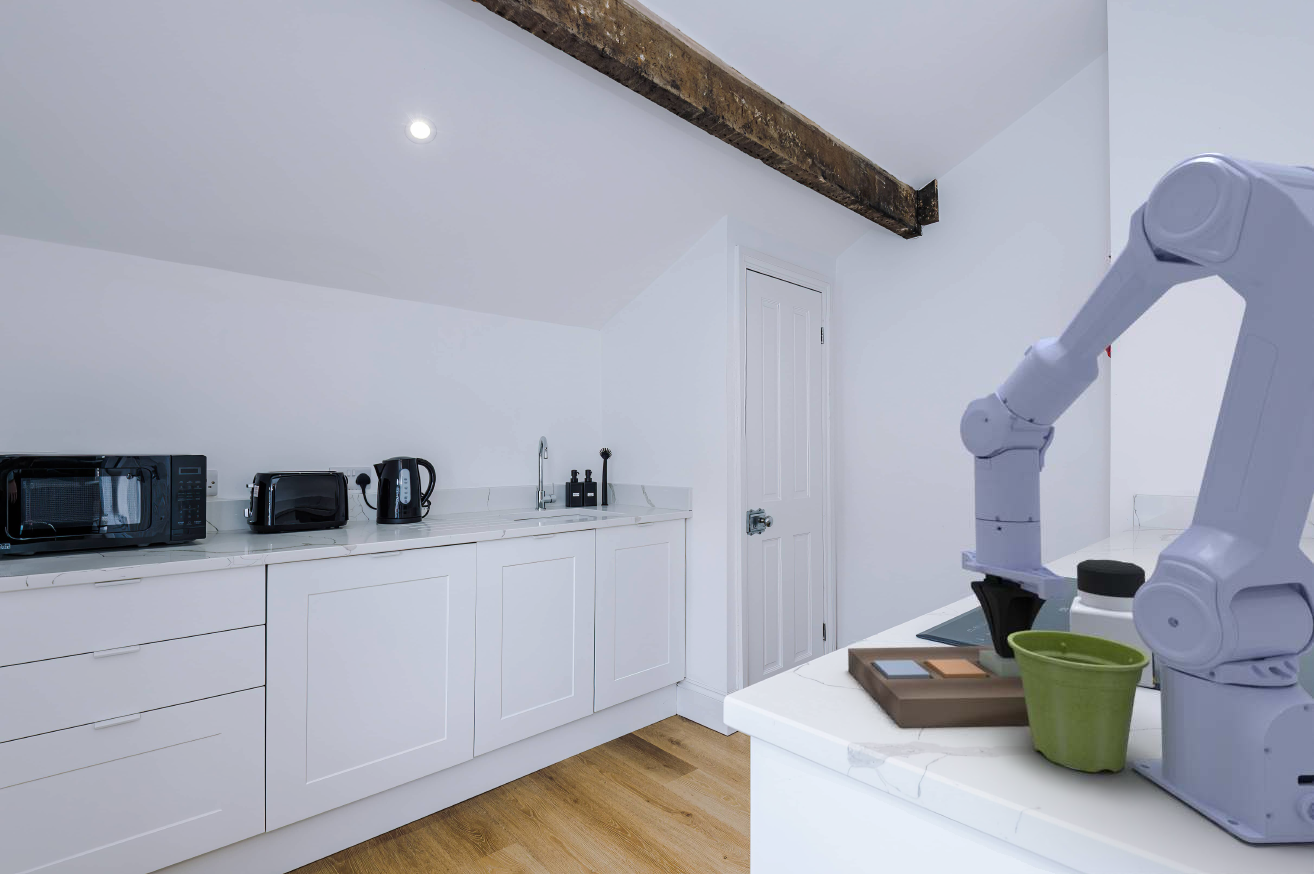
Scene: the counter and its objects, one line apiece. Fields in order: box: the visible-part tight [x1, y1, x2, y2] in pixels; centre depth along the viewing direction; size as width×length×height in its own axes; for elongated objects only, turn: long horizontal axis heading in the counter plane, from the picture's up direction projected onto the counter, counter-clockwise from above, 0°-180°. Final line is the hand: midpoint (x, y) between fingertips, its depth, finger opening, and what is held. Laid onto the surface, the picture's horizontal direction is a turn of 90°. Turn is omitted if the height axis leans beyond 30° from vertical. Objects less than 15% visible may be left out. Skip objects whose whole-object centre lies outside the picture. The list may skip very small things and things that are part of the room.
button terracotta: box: [927, 659, 987, 678], centre depth 62 cm, size 4×4×2 cm
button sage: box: [979, 650, 1021, 677], centre depth 62 cm, size 4×4×2 cm
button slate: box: [874, 660, 930, 679], centre depth 62 cm, size 4×4×2 cm
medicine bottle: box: [1069, 558, 1156, 689], centre depth 68 cm, size 7×7×12 cm
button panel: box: [847, 645, 1030, 729], centre depth 62 cm, size 14×17×2 cm
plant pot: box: [1008, 629, 1150, 773], centre depth 50 cm, size 9×9×9 cm
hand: (1009, 655), depth 62 cm, fingers closed
